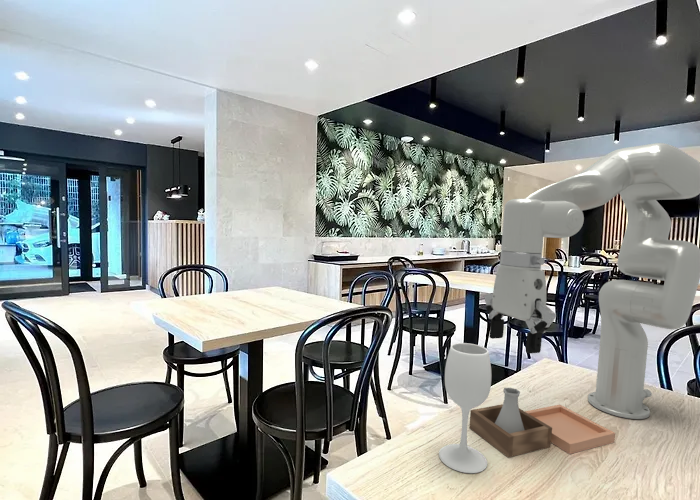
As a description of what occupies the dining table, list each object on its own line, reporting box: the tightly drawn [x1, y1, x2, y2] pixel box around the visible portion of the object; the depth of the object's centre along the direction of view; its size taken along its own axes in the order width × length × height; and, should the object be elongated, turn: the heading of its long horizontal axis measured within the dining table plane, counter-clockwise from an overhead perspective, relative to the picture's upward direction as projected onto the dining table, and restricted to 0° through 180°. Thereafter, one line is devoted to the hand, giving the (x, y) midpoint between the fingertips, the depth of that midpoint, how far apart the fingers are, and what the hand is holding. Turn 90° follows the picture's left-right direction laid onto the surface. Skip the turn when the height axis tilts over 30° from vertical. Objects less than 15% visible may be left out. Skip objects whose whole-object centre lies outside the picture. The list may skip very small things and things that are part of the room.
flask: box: [495, 387, 524, 434], centre depth 79 cm, size 7×7×10 cm
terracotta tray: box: [524, 404, 616, 455], centre depth 83 cm, size 13×13×2 cm
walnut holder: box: [469, 403, 552, 459], centre depth 79 cm, size 11×11×4 cm
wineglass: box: [438, 342, 492, 474], centre depth 71 cm, size 9×9×21 cm
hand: (513, 344), depth 78 cm, fingers open, 9 cm apart
